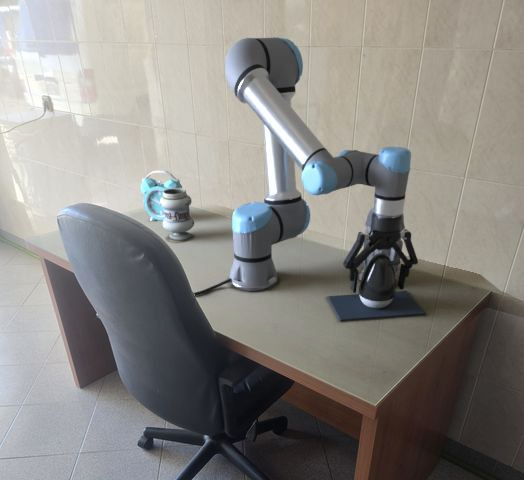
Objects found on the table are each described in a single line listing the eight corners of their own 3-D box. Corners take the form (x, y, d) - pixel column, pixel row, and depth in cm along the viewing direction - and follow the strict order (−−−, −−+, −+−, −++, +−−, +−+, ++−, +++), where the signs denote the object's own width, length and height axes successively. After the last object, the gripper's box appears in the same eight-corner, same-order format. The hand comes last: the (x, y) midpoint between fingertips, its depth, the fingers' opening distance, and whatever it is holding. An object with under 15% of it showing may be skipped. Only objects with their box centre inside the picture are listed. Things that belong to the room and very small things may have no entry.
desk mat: (340, 321, 126) (340, 319, 126) (327, 298, 138) (328, 296, 138) (425, 315, 129) (425, 313, 128) (405, 292, 140) (406, 290, 140)
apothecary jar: (159, 236, 184) (152, 189, 174) (186, 230, 190) (181, 184, 180) (173, 245, 175) (167, 197, 166) (201, 238, 181) (197, 191, 171)
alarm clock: (141, 222, 199) (133, 173, 188) (149, 215, 207) (142, 167, 196) (180, 223, 196) (175, 174, 185) (187, 216, 204) (182, 168, 193)
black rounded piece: (386, 316, 127) (394, 264, 119) (351, 307, 132) (356, 256, 123) (399, 301, 134) (407, 251, 126) (365, 293, 139) (370, 244, 131)
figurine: (381, 293, 140) (393, 210, 126) (352, 276, 151) (360, 197, 137) (405, 286, 144) (420, 205, 130) (376, 270, 154) (386, 193, 140)
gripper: (427, 207, 123) (414, 280, 135) (335, 211, 121) (330, 286, 132) (440, 215, 117) (425, 292, 129) (343, 220, 114) (336, 298, 126)
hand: (376, 289), depth 130 cm, fingers open, 13 cm apart
